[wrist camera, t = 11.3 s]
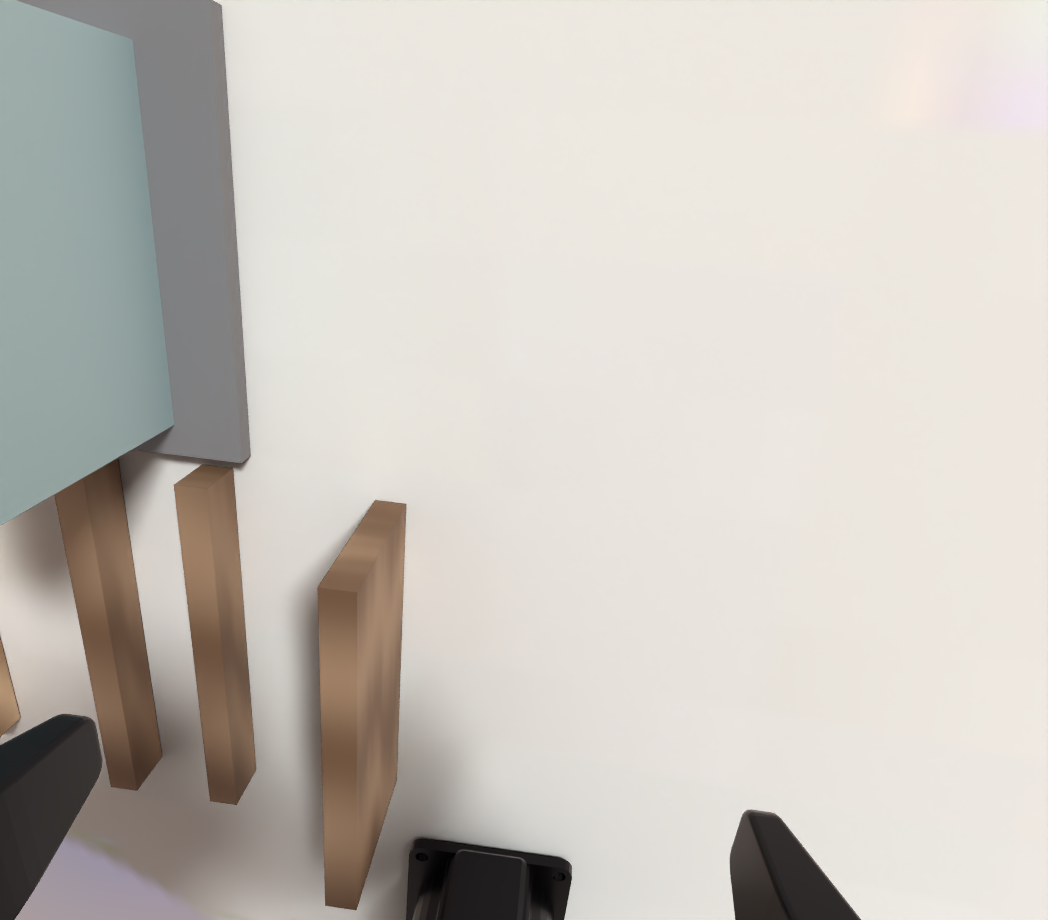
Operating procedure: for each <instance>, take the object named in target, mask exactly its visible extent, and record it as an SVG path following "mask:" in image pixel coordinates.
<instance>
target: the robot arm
mask: <svg viewBox="0 0 1048 920" xmlns="http://www.w3.org/2000/svg"><path fill="white" fill-rule="evenodd" d="M101 768H102V755H101V750H100V745H99V740H98V735H97V730H96V725H95V722H94V721H93V720H92V719H91V718H89V717H86V716H79V715H72V714H61V715H57V716H55V717H53V718H51V719H49V720H47V721H45V722H43V723H41V724H40V725H38V726H36V727H34V728H32V729H30V730H28V731H26V732H24V733H22V734H21V735H19V736H17V737H15V738H13V739H11V740H9V741H7V742H5V743H3V744H2V745H0V920H14V919H15V918H16V916H17V915H18V914H19V912H20V911H21V909H22V907H23V906H24V905H25V903H26V901H27V900H28V898H29V897H30V895H31V894H32V892H33V891H34V889H35V887H36V886H37V884H38V882H39V881H40V879H41V877H42V876H43V874H44V872H45V871H46V869H47V867H48V865H49V863H50V862H51V860H52V858H53V856H54V855H55V853H56V851H57V850H58V848H59V846H60V844H61V843H62V841H63V839H64V837H65V836H66V834H67V832H68V830H69V829H70V827H71V825H72V823H73V821H74V820H75V818H76V816H77V814H78V813H79V811H80V809H81V807H82V806H83V804H84V802H85V800H86V799H87V797H88V795H89V793H90V792H91V790H92V788H93V786H94V785H95V783H96V781H97V779H98V777H99V774H100V772H101ZM730 874H731V883H732V893H733V902H734V911H735V920H861V919H860V918H859V916H858V915H857V914H856V913H855V911H854V910H853V909H852V908H851V906H850V905H849V904H848V903H847V901H846V900H845V899H844V897H843V896H842V895H841V894H840V892H839V891H838V890H837V889H836V887H835V886H834V885H833V884H832V882H831V881H830V880H829V879H828V877H827V876H826V875H825V873H824V872H823V871H822V870H821V868H820V867H819V866H818V865H817V863H816V862H815V861H814V860H813V858H812V857H811V856H810V855H809V853H808V852H807V851H806V849H805V848H804V847H803V846H802V844H801V843H800V842H799V841H798V839H797V838H796V837H795V836H794V834H793V833H792V832H791V831H790V829H789V828H788V827H787V825H786V824H785V823H784V822H783V820H782V819H781V818H780V817H779V816H777V815H776V814H774V813H771V812H764V811H757V810H746V811H745V812H744V813H743V815H742V817H741V821H740V824H739V827H738V830H737V833H736V836H735V839H734V842H733V846H732V849H731V853H730ZM571 880H572V866H571V864H570V863H569V862H568V861H566V860H564V859H560V858H553V857H546V856H539V855H532V854H525V853H518V852H511V851H504V850H497V849H490V848H483V847H476V846H469V845H462V844H455V843H449V842H442V841H435V840H428V839H418V840H415V841H414V842H413V843H412V846H411V850H410V854H409V871H408V892H407V913H406V920H564V917H565V912H566V906H567V901H568V896H569V891H570V885H571Z"/></svg>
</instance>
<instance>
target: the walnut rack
mask: <svg viewBox="0 0 1048 920" xmlns="http://www.w3.org/2000/svg"><path fill="white" fill-rule="evenodd" d="M174 491H175V499H176V508H177V517H178V525H179V534H180V543H181V551H182V560H183V569H184V577H185V586H186V595H187V603H188V612H189V621H190V630H191V638H192V647H193V656H194V664H195V673H196V682H197V690H198V699H199V708H200V716H201V725H202V734H203V742H204V751H205V760H206V768H207V777H208V786H209V794H210V801H213V802H220V803H227V804H234V805H237V803H238V801H239V800H240V798H241V796H242V794H243V792H244V791H245V789H246V787H247V785H248V783H249V782H250V780H251V778H252V776H253V774H254V773H255V771H256V762H255V749H254V736H253V723H252V710H251V697H250V684H249V671H248V658H247V644H246V631H245V618H244V605H243V592H242V579H241V566H240V553H239V540H238V527H237V513H236V500H235V487H234V474H233V468H228V467H220V466H212V465H204V464H202V465H201V466H199V467H198V468H197V469H195V470H194V471H193V472H191V473H190V474H188V475H187V476H186V477H184V478H183V479H182V480H180V481H179V482H177V483H176V484H175V485H174ZM55 499H56V505H57V510H58V515H59V520H60V525H61V530H62V536H63V541H64V546H65V551H66V556H67V561H68V567H69V572H70V577H71V582H72V587H73V593H74V598H75V603H76V608H77V613H78V618H79V624H80V629H81V634H82V639H83V644H84V649H85V655H86V660H87V665H88V670H89V675H90V681H91V686H92V691H93V696H94V701H95V706H96V712H97V717H98V722H99V727H100V732H101V737H102V743H103V748H104V753H105V758H106V763H107V769H108V774H109V779H110V784H111V787H116V788H123V789H130V790H138V789H139V787H140V786H141V785H142V783H143V782H144V780H145V779H146V778H147V776H148V775H149V774H150V772H151V771H152V770H153V768H154V767H155V766H156V764H157V763H158V761H159V760H160V759H161V757H162V753H161V746H160V739H159V732H158V726H157V719H156V712H155V706H154V699H153V692H152V685H151V679H150V672H149V665H148V659H147V652H146V645H145V638H144V632H143V625H142V618H141V611H140V605H139V598H138V591H137V585H136V578H135V571H134V564H133V558H132V551H131V544H130V538H129V531H128V524H127V517H126V511H125V504H124V497H123V491H122V484H121V477H120V470H119V464H118V458H116V459H115V460H113V461H111V462H109V463H108V464H106V465H104V466H102V467H101V468H99V469H97V470H96V471H94V472H92V473H90V474H89V475H87V476H85V477H83V478H82V479H80V480H78V481H77V482H75V483H73V484H71V485H70V486H68V487H66V488H64V489H63V490H61V491H59V492H58V493H56V494H55ZM405 525H406V504H402V503H394V502H386V501H378V500H375V501H374V503H373V504H372V506H371V507H370V509H369V510H368V512H367V513H366V515H365V516H364V518H363V520H362V521H361V523H360V524H359V526H358V527H357V529H356V530H355V532H354V533H353V535H352V536H351V538H350V539H349V541H348V542H347V544H346V545H345V547H344V548H343V550H342V551H341V553H340V554H339V556H338V557H337V559H336V560H335V562H334V563H333V565H332V566H331V568H330V570H329V571H328V573H327V574H326V576H325V577H324V579H323V580H322V582H321V583H320V585H319V586H318V621H319V662H320V703H321V744H322V786H323V827H324V868H325V906H332V907H339V908H345V909H352V910H356V909H357V906H358V903H359V900H360V897H361V893H362V890H363V887H364V884H365V880H366V877H367V874H368V871H369V868H370V864H371V861H372V858H373V855H374V852H375V848H376V845H377V842H378V839H379V835H380V832H381V829H382V826H383V823H384V819H385V816H386V813H387V810H388V806H389V803H390V800H391V797H392V794H393V790H394V787H395V784H396V781H397V755H398V726H399V698H400V669H401V640H402V611H403V582H404V554H405Z"/></svg>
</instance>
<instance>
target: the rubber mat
mask: <svg viewBox="0 0 1048 920" xmlns="http://www.w3.org/2000/svg"><path fill="white" fill-rule="evenodd" d="M16 1H19V2H22V3H25V4H28V5H31V6H34V7H37V8H40V9H43V10H46V11H49V12H52V13H55V14H58V15H61V16H64V17H67V18H70V19H73V20H76V21H79V22H82V23H85V24H88V25H91V26H94V27H97V28H100V29H103V30H106V31H109V32H112V33H115V34H118V35H121V36H124V37H127V38H130V39H132V40H133V49H134V58H135V67H136V77H137V86H138V95H139V104H140V113H141V123H142V132H143V141H144V150H145V160H146V169H147V178H148V187H149V196H150V206H151V215H152V224H153V233H154V243H155V252H156V261H157V270H158V279H159V289H160V298H161V307H162V316H163V326H164V335H165V344H166V353H167V362H168V372H169V381H170V390H171V399H172V409H173V418H174V425H173V426H172V427H170V428H168V429H166V430H165V431H163V432H161V433H159V434H158V435H156V436H154V437H153V438H151V439H149V440H147V441H146V442H144V443H142V444H140V445H139V446H137V447H135V448H134V449H132V450H139V451H147V452H155V453H163V454H171V455H179V456H187V457H195V458H203V459H211V460H219V461H227V462H235V463H243V462H244V461H245V460H246V459H247V458H249V457H250V456H251V455H250V440H249V424H248V409H247V393H246V378H245V362H244V347H243V331H242V316H241V300H240V285H239V269H238V254H237V238H236V223H235V208H234V192H233V177H232V161H231V146H230V130H229V115H228V99H227V84H226V68H225V53H224V37H223V22H222V7H221V5H220V4H218V3H216V2H215V1H213V0H16Z"/></svg>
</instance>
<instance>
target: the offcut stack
mask: <svg viewBox="0 0 1048 920" xmlns="http://www.w3.org/2000/svg"><path fill="white" fill-rule="evenodd" d="M19 719H20V714H19V710H18V706H17V702H16V698H15V694H14V690H13V686H12V682H11V678H10V675H9V671H8V667H7V663H6V659H5V655H4V651H3V647H2V643H1V639H0V737H1V736H2V735H3V734H4V733H5V732H6V731H7V730H8V729H9V728H10V727H11V726H13V725H14V724H15V723H16V722H17V721H18V720H19Z"/></svg>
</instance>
